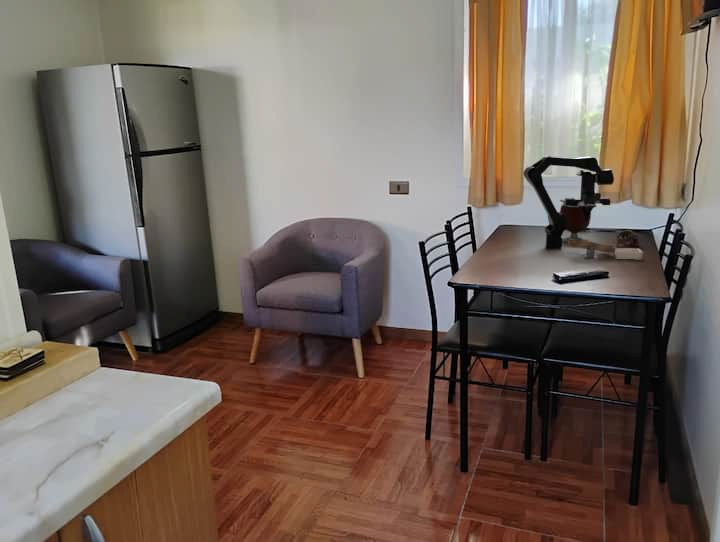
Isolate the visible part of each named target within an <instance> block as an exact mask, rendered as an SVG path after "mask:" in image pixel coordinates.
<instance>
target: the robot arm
mask: <svg viewBox="0 0 720 542" xmlns="http://www.w3.org/2000/svg"><path fill="white" fill-rule="evenodd" d="M550 166H556V167H558V166H559V167H572V168H577V169H579V171H578V172H577V173H576V176H579V177H581V179H580V180H581V181H580V198H579V199H575V197H565V198H564V200H563V201H564V203H563V204H565V205H574V204H578V205H577V206H578V207H580V208H581V210H582V213H583V216H584V219H585V221H587V220H588V217H589V215H590V213H591V214H592V211H593V209H594V208H597V204H601V205H602V206H611V199H610V198H609V197H601V192H595V191H596V190H595V187H596V184H597V186H611V185H613V184H614V181H615V177H614V173H613V169H602V168H601V167H600V165H599V161H598V159H596V157H592V156H583V157H582V156H581V157H580V156H579V157H574V158H572V157H562V156H561V157H560V156H550V155H549V156H548V155H545V156H543V157H542V158H541V159H540V160H538V161H536V162H534V163H533V164H532V165H530V166H527V167H526V168H524V170H523V177H524V178H525V179H526V181H527V182H528V183H529V184H530V186H532V188H533V189H534V191H535V193H536V195H537V196H538V199H539V201H540V203H541V204H542V206H543V209H544V210H545V212H546V215H547V221H548V225H547V226H546V227H544V230H543V231H544V233H545V245H544V247H545V249H546V250H562V247H563V241H562V237H563V233H564V232H565V231H567V230H566V228H567V223H566V222H568V221H567V220H566V219H565V217H564V214H563V213H560V211H557V209H556V207H555V205H554V202H553V201H552V199H551V197H550V195H549V193H548V190H546V187H545V186H544V180H543V175H542V174H543V173H545V171H547V169H548V168H550ZM580 169H581V170H580ZM585 170H586V171H585ZM585 204H586V205H587V212H586V206H585Z"/></svg>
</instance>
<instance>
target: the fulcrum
mask: <svg viewBox="0 0 720 542" xmlns="http://www.w3.org/2000/svg"><path fill="white" fill-rule="evenodd" d="M595 253H596V250H595V247H590V249H586V253H585V254H582V256H584V257H583V258H584V259H585V260H586V259H598V260H600V259H599V257H598V255H596V254H595Z"/></svg>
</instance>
